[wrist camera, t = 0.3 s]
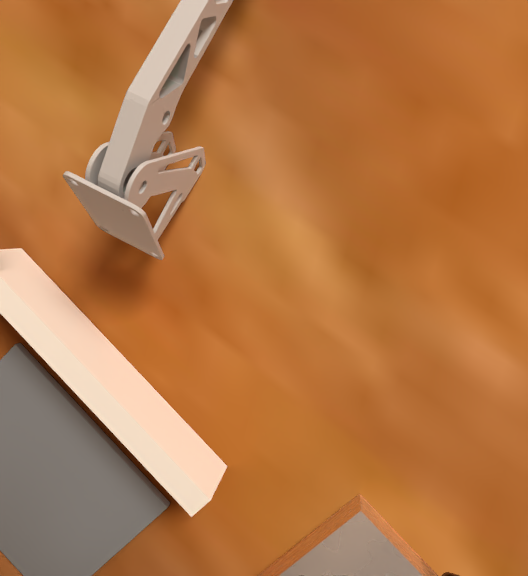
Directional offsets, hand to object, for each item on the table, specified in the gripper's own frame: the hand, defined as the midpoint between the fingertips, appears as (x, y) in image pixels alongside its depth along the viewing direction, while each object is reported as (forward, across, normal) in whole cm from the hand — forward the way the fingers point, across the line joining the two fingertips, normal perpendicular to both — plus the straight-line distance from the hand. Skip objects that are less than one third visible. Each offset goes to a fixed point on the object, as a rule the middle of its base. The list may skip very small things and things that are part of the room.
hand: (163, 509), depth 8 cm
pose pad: (+12, +10, +13) cm, 21 cm away
